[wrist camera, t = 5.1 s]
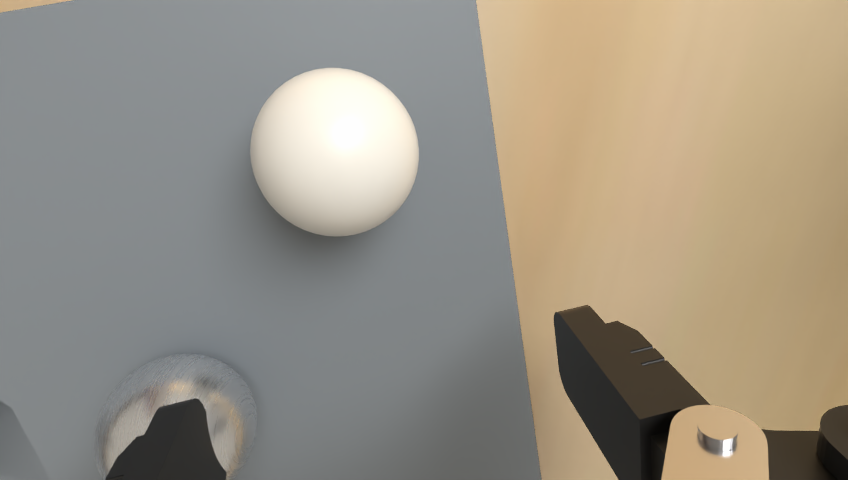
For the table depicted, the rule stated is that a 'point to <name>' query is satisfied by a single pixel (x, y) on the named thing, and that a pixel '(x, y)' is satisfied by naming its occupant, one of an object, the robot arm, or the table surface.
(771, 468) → the robot arm
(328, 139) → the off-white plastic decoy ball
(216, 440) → the steel ball
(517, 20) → the table surface
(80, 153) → the plate
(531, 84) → the table surface
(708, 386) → the table surface
